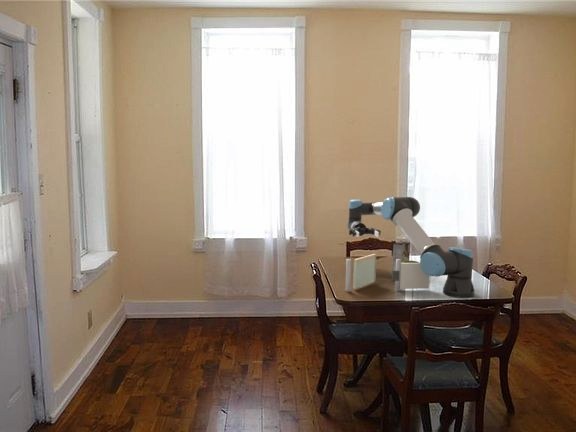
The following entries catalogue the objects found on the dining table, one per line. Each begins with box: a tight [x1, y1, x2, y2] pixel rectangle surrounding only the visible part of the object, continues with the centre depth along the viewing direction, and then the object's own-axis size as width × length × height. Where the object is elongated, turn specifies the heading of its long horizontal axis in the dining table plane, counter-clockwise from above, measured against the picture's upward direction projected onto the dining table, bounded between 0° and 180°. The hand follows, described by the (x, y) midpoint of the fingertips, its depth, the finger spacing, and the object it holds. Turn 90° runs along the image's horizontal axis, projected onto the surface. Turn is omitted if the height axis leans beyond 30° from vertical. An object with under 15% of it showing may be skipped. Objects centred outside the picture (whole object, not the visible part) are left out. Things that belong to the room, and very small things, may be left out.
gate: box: [352, 253, 377, 290], centre depth 296 cm, size 20×2×15 cm, turn 142°
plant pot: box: [402, 259, 420, 263], centre depth 319 cm, size 9×9×9 cm
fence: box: [344, 258, 430, 292], centre depth 289 cm, size 3×43×16 cm, turn 97°
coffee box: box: [391, 240, 411, 271], centre depth 338 cm, size 9×6×16 cm
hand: (368, 234), depth 312 cm, fingers open, 10 cm apart
